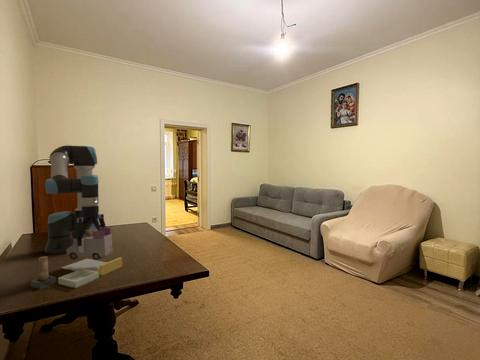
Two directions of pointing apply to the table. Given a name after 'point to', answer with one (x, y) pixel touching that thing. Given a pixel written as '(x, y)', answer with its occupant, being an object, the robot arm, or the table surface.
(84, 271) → the tray
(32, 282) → the socket
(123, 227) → the table surface
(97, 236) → the toy vehicle
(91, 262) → the mat
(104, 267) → the block
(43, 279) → the pin
